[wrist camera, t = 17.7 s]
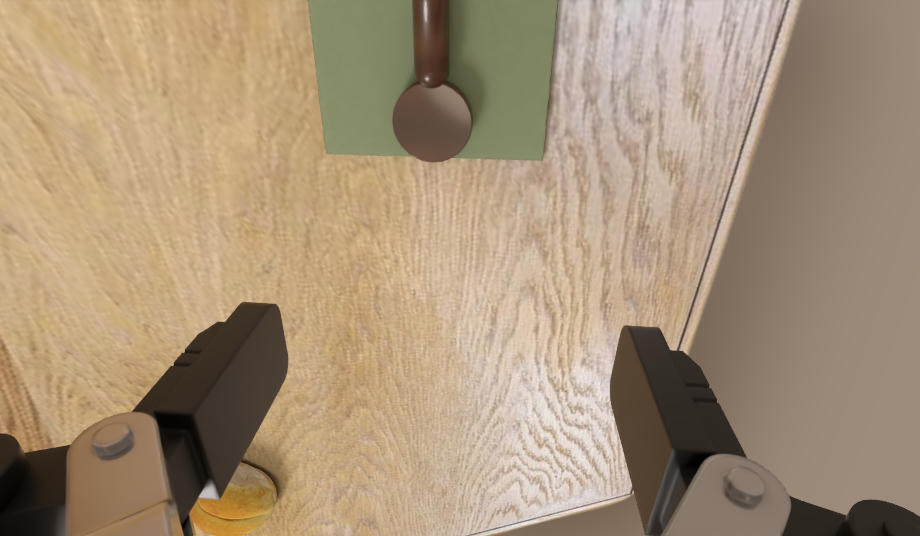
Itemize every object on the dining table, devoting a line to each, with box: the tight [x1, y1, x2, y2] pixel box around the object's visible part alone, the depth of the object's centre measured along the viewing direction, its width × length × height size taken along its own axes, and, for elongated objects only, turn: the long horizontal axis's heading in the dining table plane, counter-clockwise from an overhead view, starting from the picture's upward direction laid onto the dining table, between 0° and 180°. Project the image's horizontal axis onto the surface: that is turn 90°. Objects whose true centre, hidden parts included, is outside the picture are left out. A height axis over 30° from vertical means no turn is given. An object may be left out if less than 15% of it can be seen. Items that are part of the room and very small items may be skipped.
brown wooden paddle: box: [392, 0, 473, 162], centre depth 28 cm, size 17×5×2 cm, turn 179°
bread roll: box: [190, 462, 277, 536], centre depth 49 cm, size 8×9×4 cm
